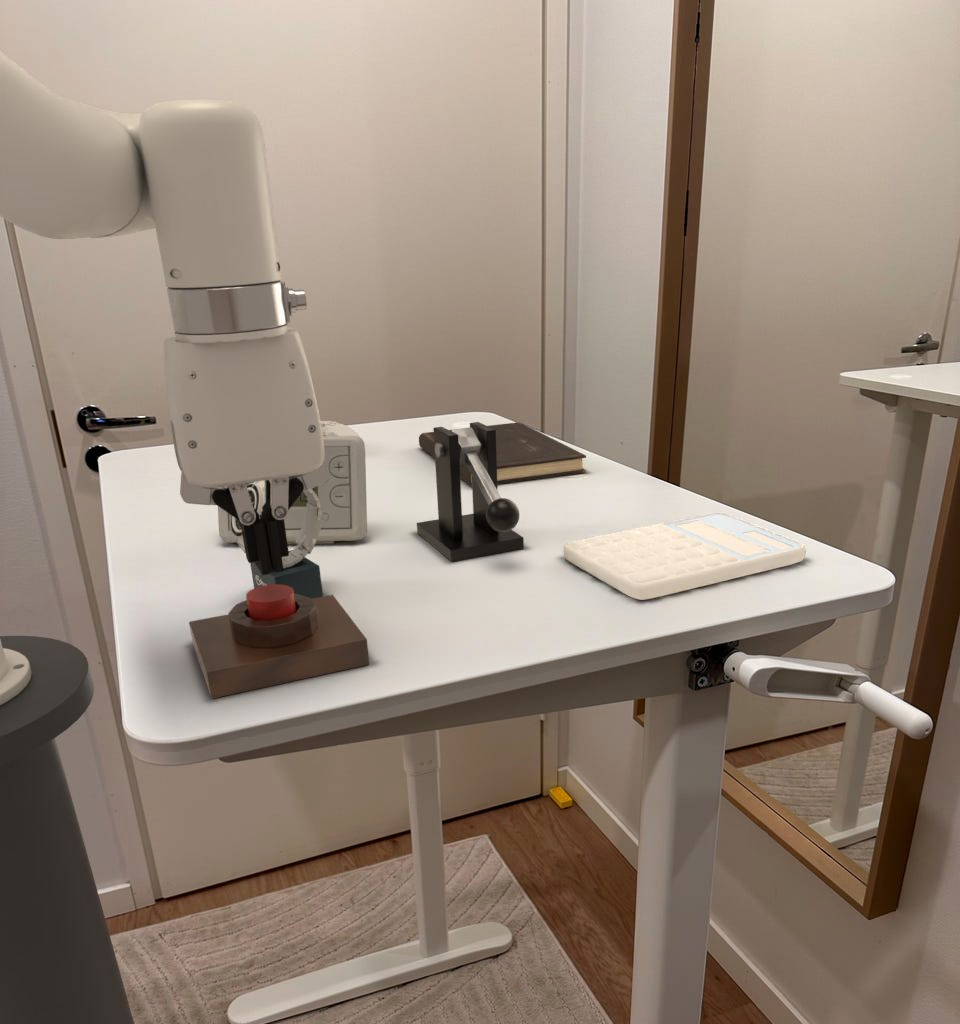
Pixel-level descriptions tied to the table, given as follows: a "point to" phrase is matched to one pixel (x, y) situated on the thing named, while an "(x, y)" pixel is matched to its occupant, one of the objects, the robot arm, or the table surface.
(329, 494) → the digital clock
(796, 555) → the calculator
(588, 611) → the table surface
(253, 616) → the button
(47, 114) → the robot arm
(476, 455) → the lever
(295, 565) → the watch
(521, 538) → the bracket
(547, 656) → the table surface
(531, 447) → the hardcover book
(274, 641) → the button block
